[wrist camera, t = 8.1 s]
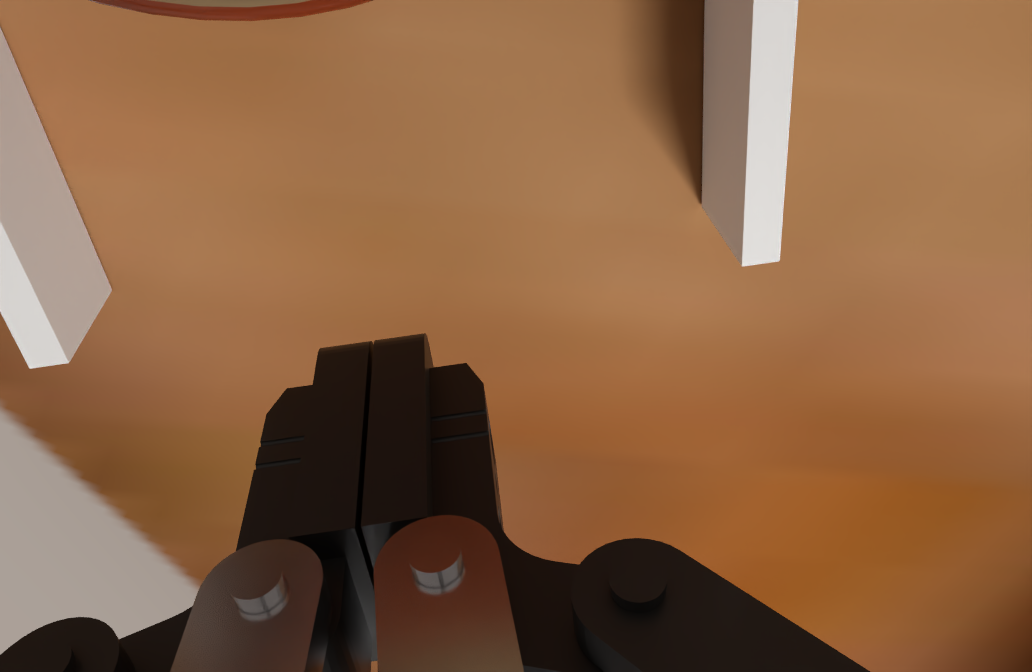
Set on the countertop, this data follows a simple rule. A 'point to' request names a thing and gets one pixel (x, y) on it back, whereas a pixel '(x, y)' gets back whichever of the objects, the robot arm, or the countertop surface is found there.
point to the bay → (725, 178)
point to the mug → (233, 8)
